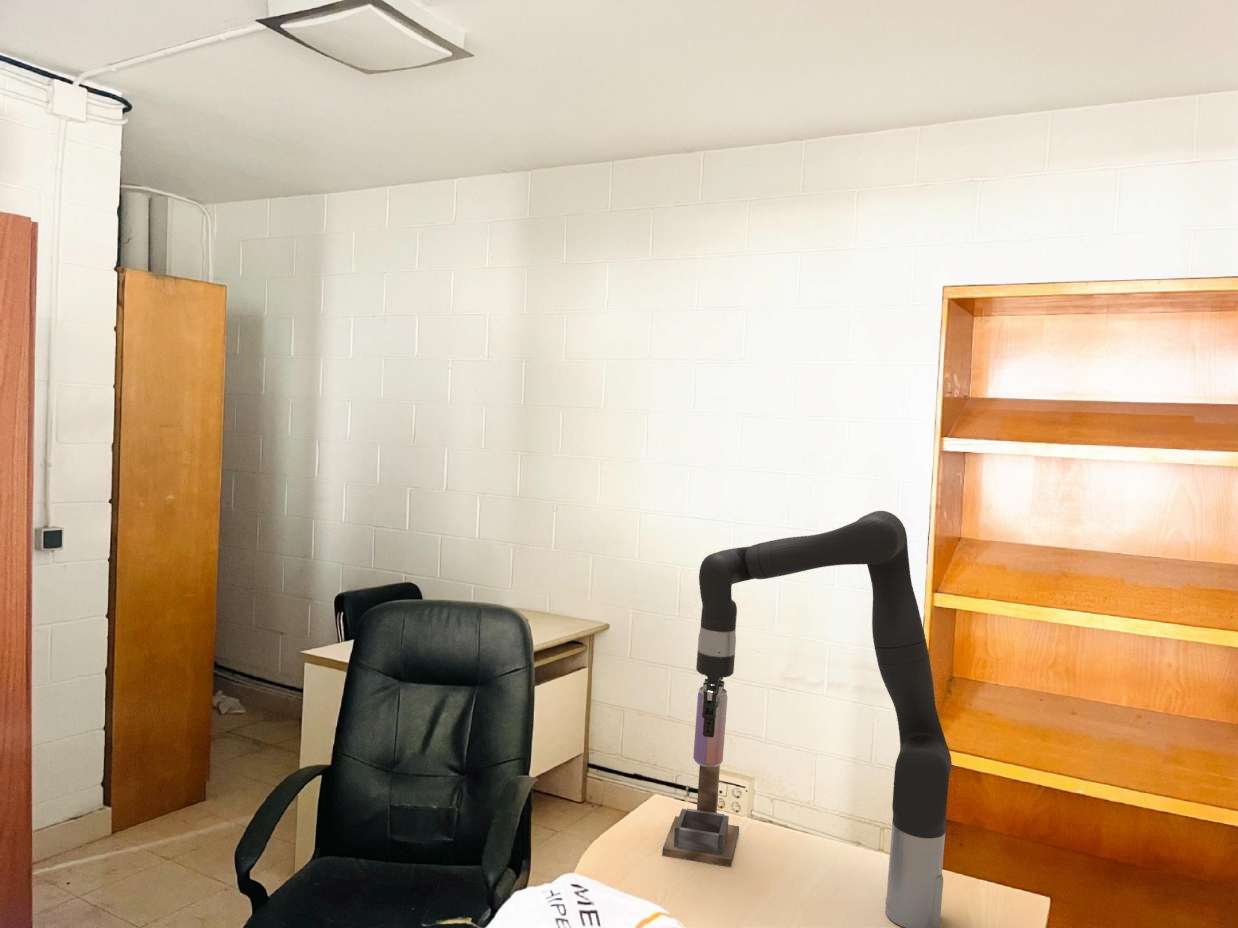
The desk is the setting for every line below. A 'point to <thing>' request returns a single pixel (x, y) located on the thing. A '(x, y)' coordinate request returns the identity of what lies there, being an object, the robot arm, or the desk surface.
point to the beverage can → (709, 748)
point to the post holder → (703, 827)
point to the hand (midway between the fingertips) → (710, 730)
